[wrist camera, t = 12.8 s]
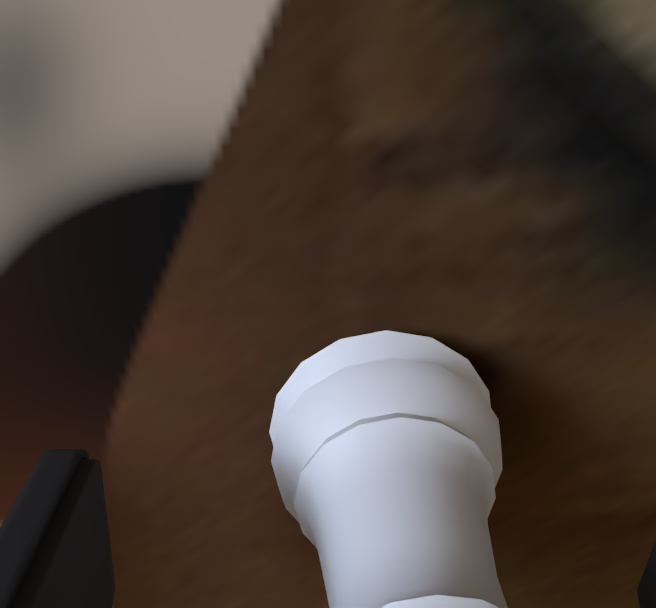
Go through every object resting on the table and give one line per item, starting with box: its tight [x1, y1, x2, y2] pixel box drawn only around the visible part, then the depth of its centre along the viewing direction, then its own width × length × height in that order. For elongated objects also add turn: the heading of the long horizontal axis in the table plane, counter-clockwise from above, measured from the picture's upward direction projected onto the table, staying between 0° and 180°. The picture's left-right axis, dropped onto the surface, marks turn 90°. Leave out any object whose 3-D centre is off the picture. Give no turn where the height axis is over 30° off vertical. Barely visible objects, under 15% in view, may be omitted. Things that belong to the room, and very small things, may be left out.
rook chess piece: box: [269, 330, 508, 608], centre depth 9 cm, size 4×4×8 cm
